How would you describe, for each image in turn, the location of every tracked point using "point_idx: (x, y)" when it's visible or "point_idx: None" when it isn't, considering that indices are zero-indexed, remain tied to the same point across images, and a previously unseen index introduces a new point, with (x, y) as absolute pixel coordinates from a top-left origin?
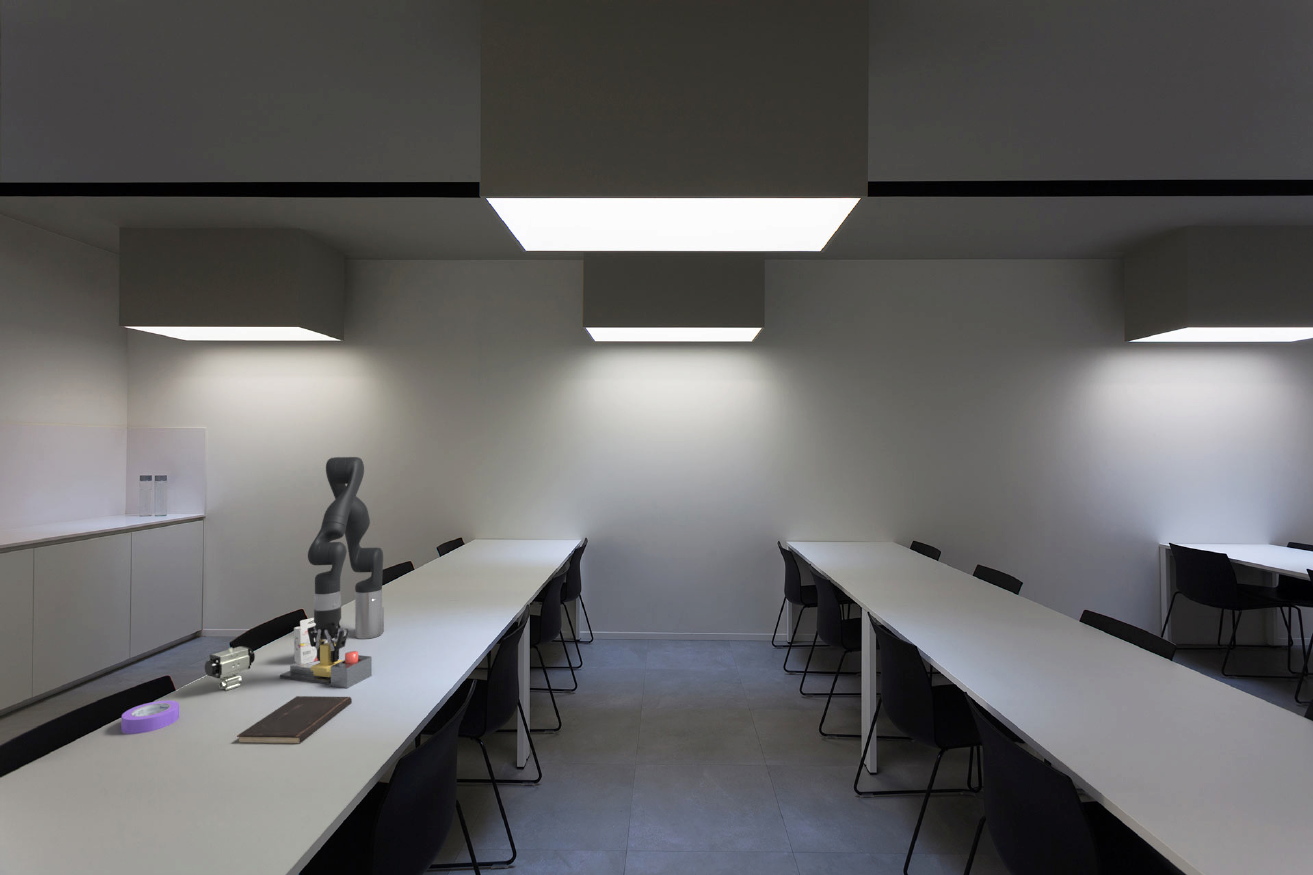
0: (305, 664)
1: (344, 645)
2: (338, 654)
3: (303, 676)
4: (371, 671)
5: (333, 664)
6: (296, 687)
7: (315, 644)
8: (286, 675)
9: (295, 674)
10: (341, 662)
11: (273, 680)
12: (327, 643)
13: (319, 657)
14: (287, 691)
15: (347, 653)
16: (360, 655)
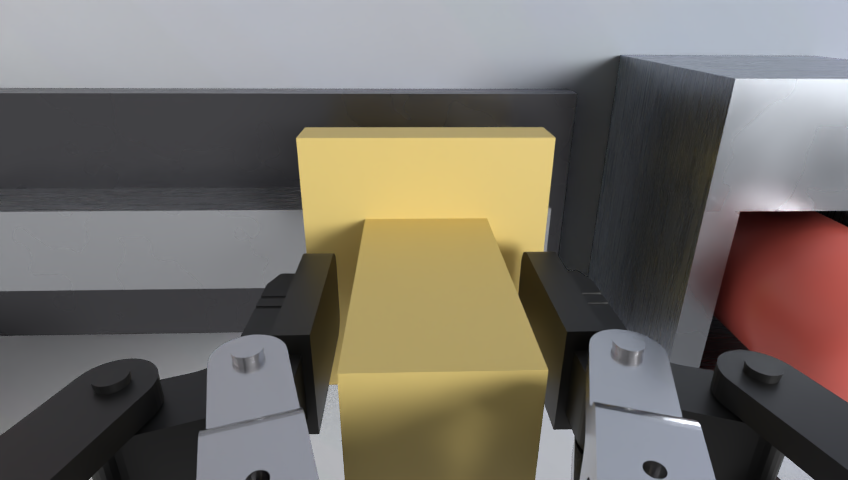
0: (76, 226)
1: (792, 380)
2: (607, 314)
3: (239, 311)
4: (845, 59)
5: (517, 279)
6: (337, 411)
7: (185, 476)
8: (68, 332)
9: (119, 295)
10: (698, 354)
11: (24, 366)
12: (400, 424)
13: (334, 353)
14: (339, 468)
15: (836, 384)
16: (824, 81)
